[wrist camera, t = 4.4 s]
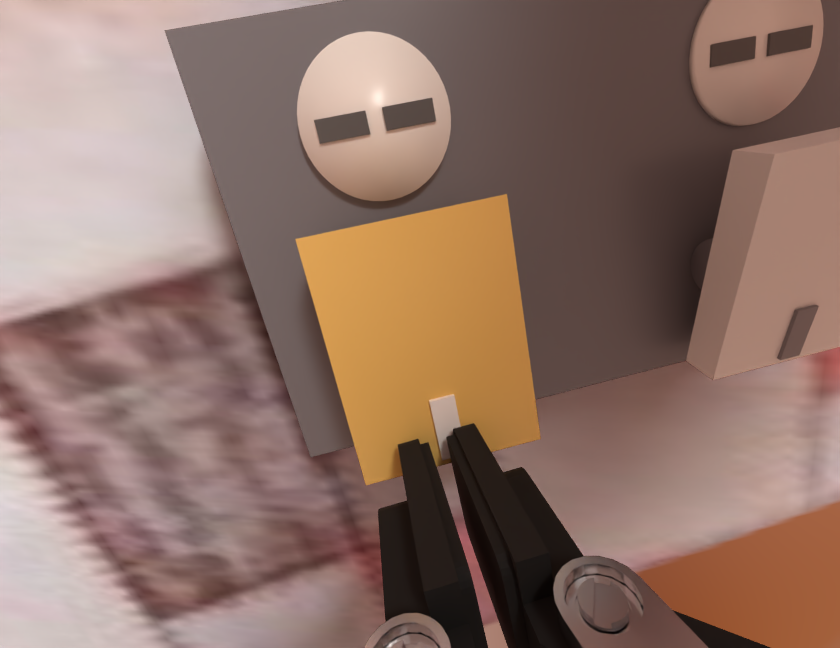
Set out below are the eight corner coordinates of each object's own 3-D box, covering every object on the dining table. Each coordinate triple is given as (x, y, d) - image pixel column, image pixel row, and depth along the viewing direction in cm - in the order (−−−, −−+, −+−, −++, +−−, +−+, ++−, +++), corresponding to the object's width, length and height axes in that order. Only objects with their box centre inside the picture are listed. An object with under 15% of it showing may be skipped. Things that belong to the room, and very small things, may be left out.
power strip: (215, 75, 11) (158, 24, 8) (782, -26, 13) (920, -103, 9) (320, 408, 15) (309, 462, 11) (757, 299, 16) (853, 322, 13)
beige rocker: (703, 147, 10) (779, 155, 8) (865, 112, 10) (969, 113, 8) (666, 347, 13) (715, 382, 11) (792, 315, 13) (857, 345, 11)
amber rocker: (307, 236, 10) (294, 239, 8) (482, 199, 10) (508, 193, 8) (365, 445, 11) (365, 488, 9) (514, 407, 12) (542, 441, 10)
